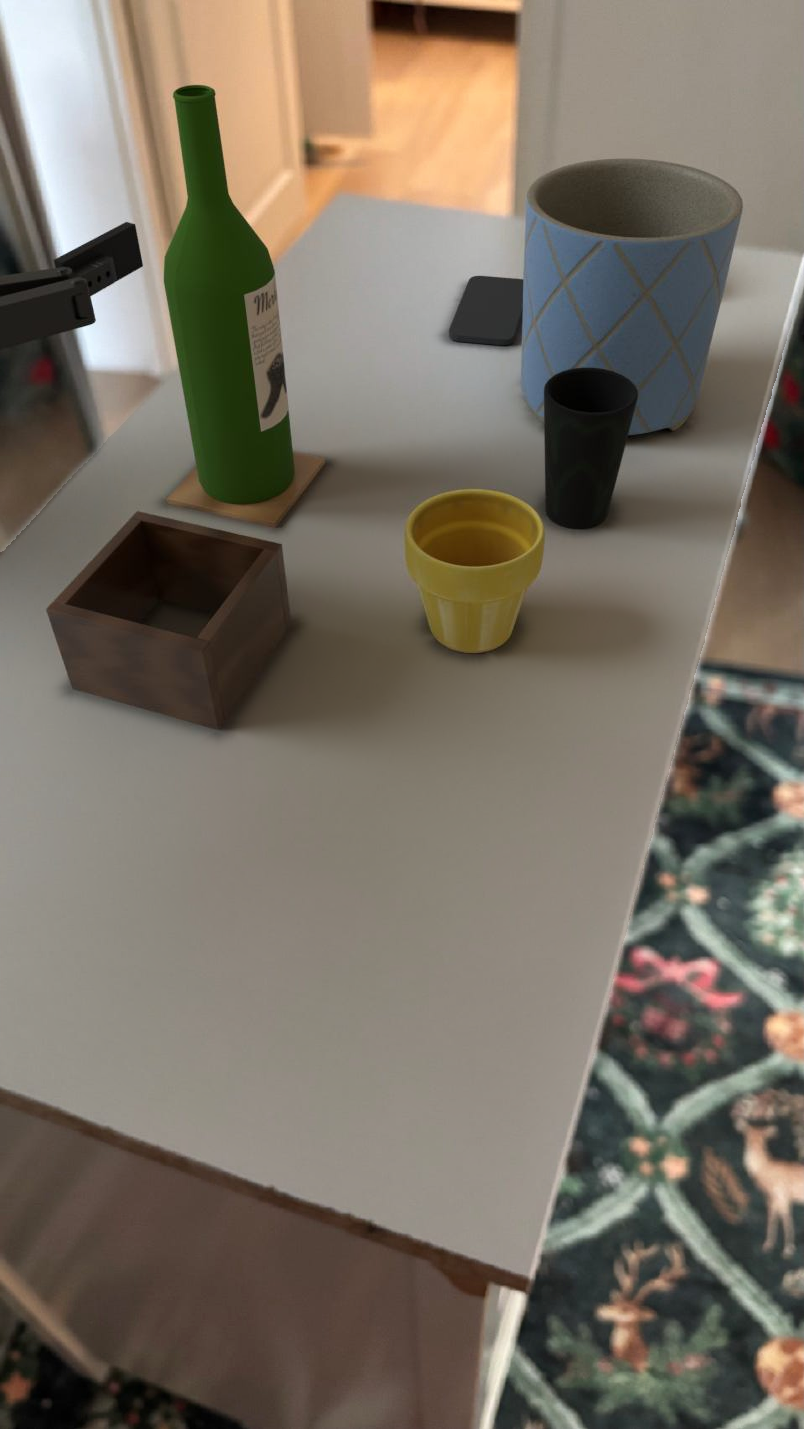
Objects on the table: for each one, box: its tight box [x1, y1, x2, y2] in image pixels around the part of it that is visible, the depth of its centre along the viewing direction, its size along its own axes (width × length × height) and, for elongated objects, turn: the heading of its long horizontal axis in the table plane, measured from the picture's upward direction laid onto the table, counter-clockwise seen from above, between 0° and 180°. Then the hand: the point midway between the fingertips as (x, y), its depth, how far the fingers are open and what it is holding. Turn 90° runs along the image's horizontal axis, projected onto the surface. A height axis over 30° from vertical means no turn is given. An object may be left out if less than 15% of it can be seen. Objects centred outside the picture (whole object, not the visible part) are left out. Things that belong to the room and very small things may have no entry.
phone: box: [448, 275, 523, 346], centre depth 124 cm, size 7×1×15 cm
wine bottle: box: [163, 84, 295, 505], centre depth 89 cm, size 9×9×32 cm
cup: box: [543, 368, 638, 530], centre depth 93 cm, size 8×8×12 cm
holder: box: [45, 510, 292, 731], centre depth 82 cm, size 13×13×8 cm
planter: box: [520, 158, 744, 436], centre depth 103 cm, size 19×19×20 cm
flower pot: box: [404, 488, 546, 654], centre depth 83 cm, size 10×10×10 cm
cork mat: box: [166, 451, 326, 528], centre depth 101 cm, size 11×11×1 cm
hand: (58, 222), depth 72 cm, fingers open, 13 cm apart
